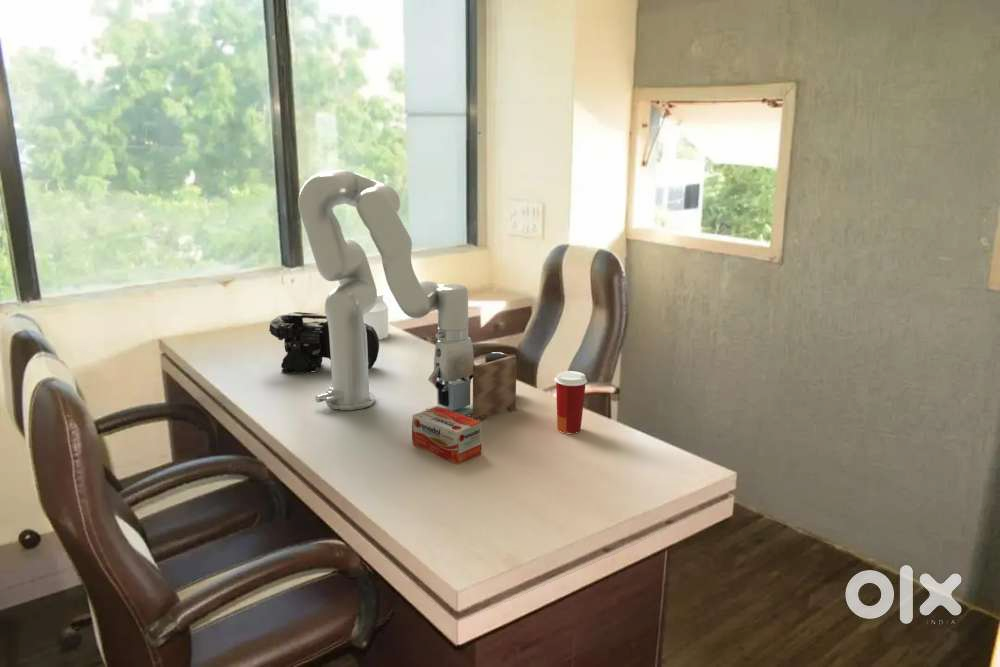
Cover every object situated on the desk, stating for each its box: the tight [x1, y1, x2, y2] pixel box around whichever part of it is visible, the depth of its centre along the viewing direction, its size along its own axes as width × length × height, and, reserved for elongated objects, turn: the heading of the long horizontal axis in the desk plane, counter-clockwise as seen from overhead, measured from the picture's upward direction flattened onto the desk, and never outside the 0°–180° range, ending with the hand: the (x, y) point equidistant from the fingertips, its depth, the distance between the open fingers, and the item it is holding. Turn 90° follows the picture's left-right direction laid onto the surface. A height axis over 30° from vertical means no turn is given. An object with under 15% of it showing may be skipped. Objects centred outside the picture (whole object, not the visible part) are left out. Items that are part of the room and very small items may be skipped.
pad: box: [425, 404, 473, 417], centre depth 198 cm, size 10×10×1 cm
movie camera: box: [268, 311, 380, 374], centre depth 226 cm, size 31×18×18 cm, turn 92°
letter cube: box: [436, 379, 471, 410], centre depth 196 cm, size 6×6×6 cm
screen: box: [471, 354, 518, 422], centre depth 195 cm, size 14×4×14 cm, turn 134°
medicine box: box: [411, 406, 483, 466], centre depth 174 cm, size 15×8×8 cm, turn 48°
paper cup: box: [554, 370, 588, 434], centre depth 185 cm, size 8×8×14 cm
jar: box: [363, 291, 390, 339], centre depth 263 cm, size 12×10×15 cm
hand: (453, 401), depth 197 cm, fingers closed on letter cube, 6 cm apart
